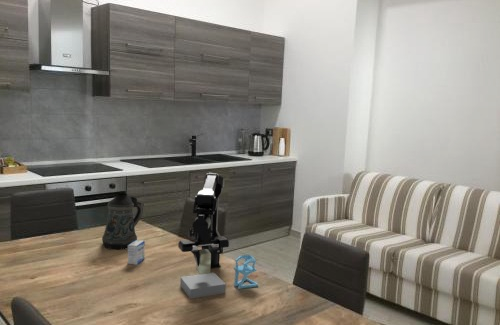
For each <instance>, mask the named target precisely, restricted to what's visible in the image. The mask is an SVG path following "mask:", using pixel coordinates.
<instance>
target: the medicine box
mask: <svg viewBox="0 0 500 325" xmlns="http://www.w3.org/2000/svg"><path fill="white" fill-rule="evenodd" d="M145 243H146V242H145V240H140V239H137V240H135V241H134V242H132V243H131V244H129V245H128V249H127V264H128V265H135V266H137V265H139V264H140V263H141V262H142V261H144V260H145V250H146V249H145V246H146V244H145Z"/></svg>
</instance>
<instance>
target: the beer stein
mask: <svg viewBox="0 0 500 325" xmlns="http://www.w3.org/2000/svg"><path fill="white" fill-rule="evenodd" d="M107 208H108V213H107V219H106V225H105V227H104V228H105V229H104V231H103V235H102V238H101V241H102V245H103V248H105V249H108V250H115V251H120V250H121V251H122V250H128V245H129V244H131V243H132V242H134V241H135V240H138V236H137V234H136V230H135V227H136V226H137V224H138V223H139V222H140V219H141V218H142V216H143V211H144V209H143V205H142V202H140V201H138V199H137V197H136V196H133V195H129V194H128V193H117V194H116V196H115V197H113V198H112V199H111V200H109V201H108V202H107ZM134 208H136V209H137V210H136V213H135V216H134V214H133V209H134Z"/></svg>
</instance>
